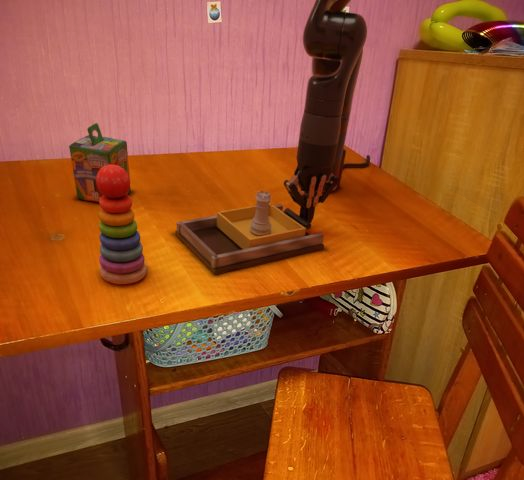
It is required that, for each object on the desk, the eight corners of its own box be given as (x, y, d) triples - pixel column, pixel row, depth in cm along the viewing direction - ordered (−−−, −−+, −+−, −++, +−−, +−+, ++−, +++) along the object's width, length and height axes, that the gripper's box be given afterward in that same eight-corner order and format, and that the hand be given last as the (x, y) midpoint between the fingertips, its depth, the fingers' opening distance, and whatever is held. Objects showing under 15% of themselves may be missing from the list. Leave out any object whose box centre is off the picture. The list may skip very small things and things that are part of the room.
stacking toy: (155, 269, 88) (149, 164, 76) (132, 291, 82) (121, 180, 70) (116, 259, 89) (105, 154, 77) (91, 279, 83) (74, 169, 71)
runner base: (277, 215, 110) (279, 203, 108) (323, 249, 100) (326, 235, 98) (175, 234, 99) (175, 220, 97) (215, 274, 88) (215, 260, 86)
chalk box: (115, 206, 106) (107, 135, 97) (75, 199, 107) (64, 128, 98) (132, 191, 113) (127, 123, 104) (95, 185, 114) (86, 117, 105)
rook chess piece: (248, 226, 100) (251, 188, 95) (269, 227, 101) (274, 189, 96) (249, 236, 97) (253, 197, 92) (272, 237, 98) (276, 198, 92)
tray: (281, 214, 108) (283, 200, 106) (317, 239, 100) (319, 225, 98) (216, 226, 100) (216, 212, 98) (248, 254, 92) (250, 239, 90)
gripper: (302, 146, 88) (290, 235, 99) (357, 140, 94) (340, 224, 105) (279, 134, 92) (270, 220, 103) (333, 129, 99) (319, 210, 110)
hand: (305, 222), depth 104 cm, fingers closed
